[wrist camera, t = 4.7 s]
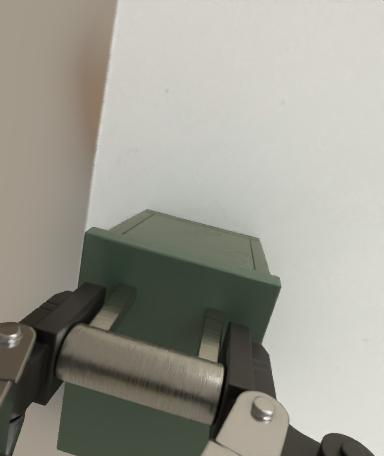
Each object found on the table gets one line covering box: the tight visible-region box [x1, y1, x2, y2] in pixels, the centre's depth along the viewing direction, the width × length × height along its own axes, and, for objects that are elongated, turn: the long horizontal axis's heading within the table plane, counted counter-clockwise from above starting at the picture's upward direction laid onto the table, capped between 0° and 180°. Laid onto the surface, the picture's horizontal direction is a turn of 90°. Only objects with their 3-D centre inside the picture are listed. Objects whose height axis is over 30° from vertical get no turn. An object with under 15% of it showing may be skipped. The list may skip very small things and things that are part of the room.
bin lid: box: [55, 227, 281, 456], centre depth 13 cm, size 12×8×5 cm, turn 167°
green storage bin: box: [108, 209, 270, 274], centre depth 20 cm, size 11×8×8 cm
